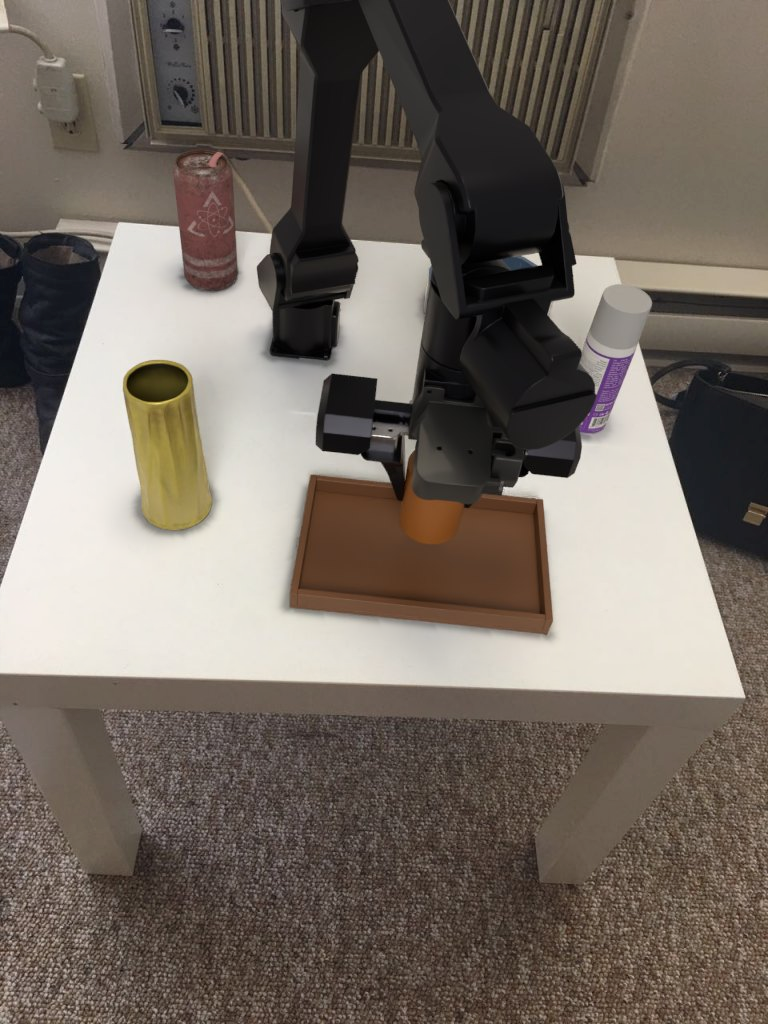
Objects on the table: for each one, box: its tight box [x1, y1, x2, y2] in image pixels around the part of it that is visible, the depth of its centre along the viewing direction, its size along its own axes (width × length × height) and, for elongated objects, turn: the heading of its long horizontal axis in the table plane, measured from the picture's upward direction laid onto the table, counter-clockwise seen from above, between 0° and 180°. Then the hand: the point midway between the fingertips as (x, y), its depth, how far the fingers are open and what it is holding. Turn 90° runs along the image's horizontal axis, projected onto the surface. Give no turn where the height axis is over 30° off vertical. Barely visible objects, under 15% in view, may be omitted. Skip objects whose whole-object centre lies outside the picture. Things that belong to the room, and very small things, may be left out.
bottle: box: [399, 449, 464, 545], centre depth 64 cm, size 5×5×10 cm
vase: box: [122, 359, 213, 531], centre depth 68 cm, size 6×6×14 cm
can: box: [172, 149, 239, 292], centre depth 91 cm, size 6×6×14 cm
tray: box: [289, 474, 554, 635], centre depth 71 cm, size 21×13×2 cm, turn 86°
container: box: [579, 283, 653, 436], centre depth 79 cm, size 5×5×15 cm
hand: (432, 500), depth 66 cm, fingers closed on bottle, 5 cm apart
